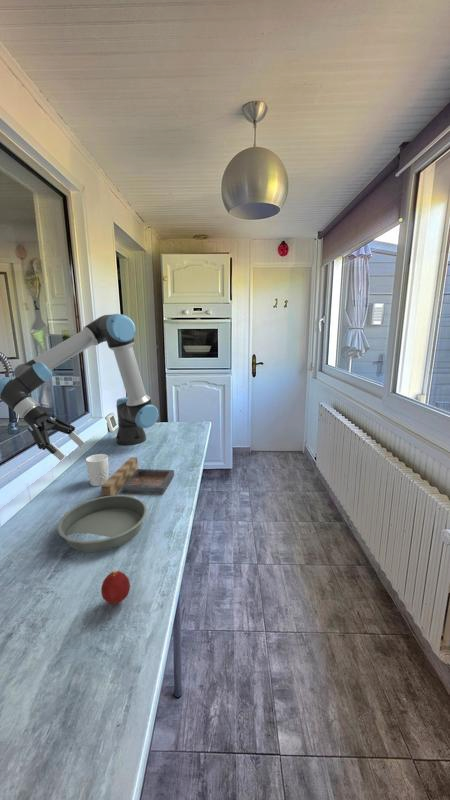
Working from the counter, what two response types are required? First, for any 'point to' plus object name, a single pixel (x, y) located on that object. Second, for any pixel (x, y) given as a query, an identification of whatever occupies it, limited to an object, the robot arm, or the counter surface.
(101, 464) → the white cup
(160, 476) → the square tray
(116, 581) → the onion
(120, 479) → the board
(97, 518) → the cake pan
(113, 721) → the counter surface
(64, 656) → the counter surface
